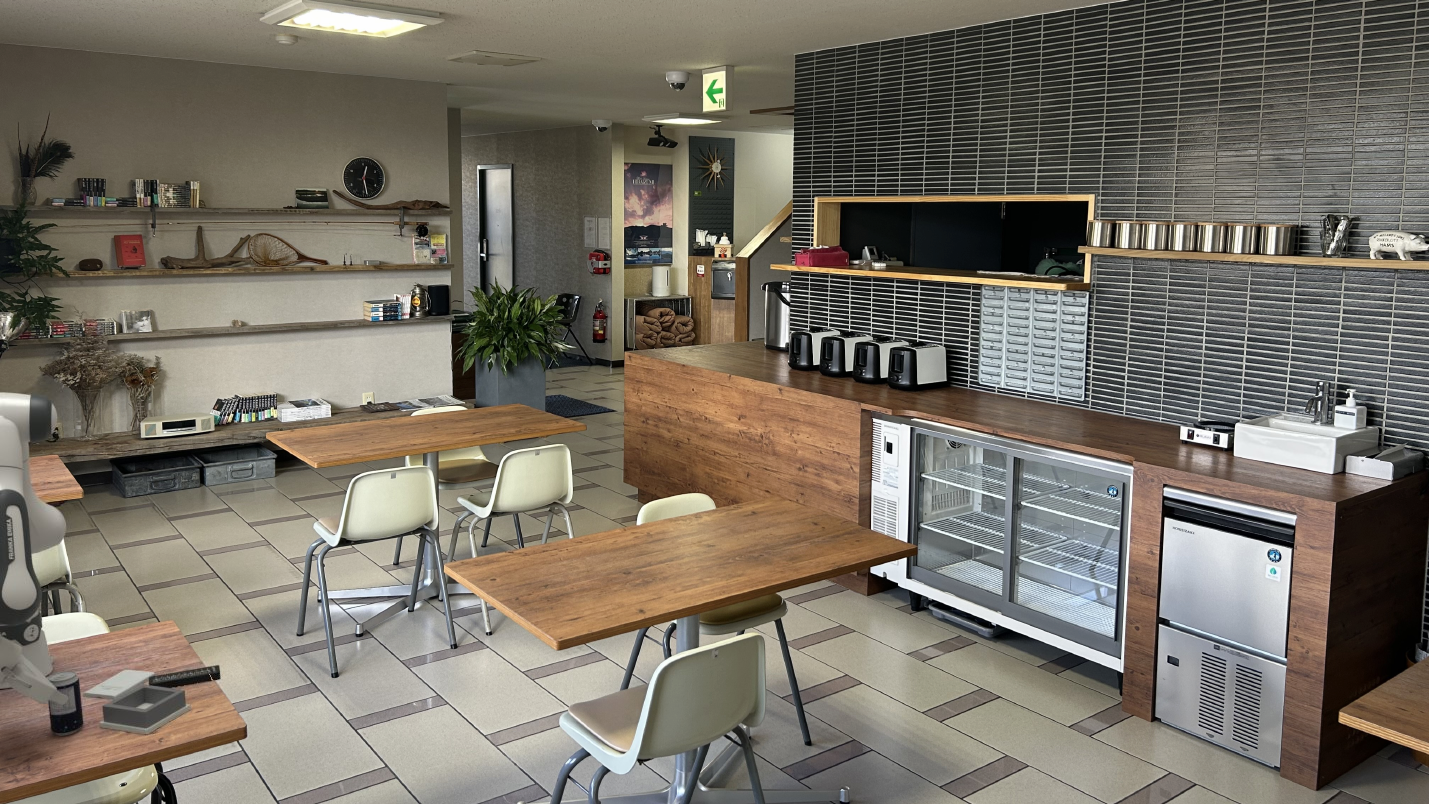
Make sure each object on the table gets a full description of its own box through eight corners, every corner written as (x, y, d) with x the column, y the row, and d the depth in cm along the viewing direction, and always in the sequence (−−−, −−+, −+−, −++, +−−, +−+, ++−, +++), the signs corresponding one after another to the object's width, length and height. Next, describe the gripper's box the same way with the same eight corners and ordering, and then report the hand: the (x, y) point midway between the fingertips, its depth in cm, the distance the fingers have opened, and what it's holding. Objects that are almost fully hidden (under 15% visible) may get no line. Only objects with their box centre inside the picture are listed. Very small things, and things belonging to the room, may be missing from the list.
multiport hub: (149, 686, 237) (148, 676, 237) (219, 673, 244) (219, 664, 244) (149, 693, 234) (148, 684, 233) (220, 681, 240) (220, 671, 240)
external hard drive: (155, 678, 242) (115, 702, 230) (124, 675, 243) (82, 698, 231) (155, 672, 241) (114, 695, 229) (124, 669, 243) (82, 691, 231)
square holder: (99, 727, 217) (97, 706, 216) (145, 702, 228) (143, 682, 228) (147, 734, 214) (145, 714, 213) (190, 709, 225) (189, 689, 224)
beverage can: (90, 727, 217) (84, 672, 215) (63, 739, 212) (57, 683, 210) (71, 722, 219) (66, 668, 217) (45, 733, 214) (39, 678, 212)
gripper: (23, 662, 199) (85, 695, 207) (-5, 634, 213) (55, 665, 221) (-2, 692, 196) (62, 723, 205) (-29, 661, 210) (33, 692, 219)
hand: (58, 693), depth 213 cm, fingers open, 8 cm apart
